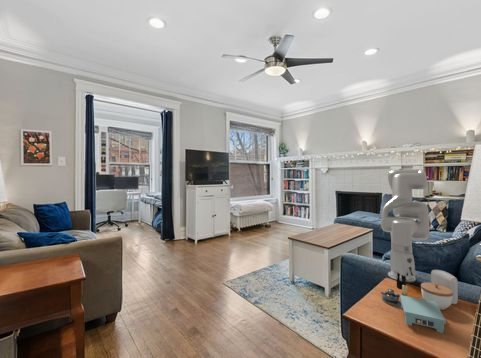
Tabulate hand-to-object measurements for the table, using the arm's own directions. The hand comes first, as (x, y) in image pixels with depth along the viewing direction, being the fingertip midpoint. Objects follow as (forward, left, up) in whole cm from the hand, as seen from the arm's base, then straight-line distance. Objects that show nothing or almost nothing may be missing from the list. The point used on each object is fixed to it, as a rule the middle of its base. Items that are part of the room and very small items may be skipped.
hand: (401, 288), depth 107 cm
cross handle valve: (+3, -3, -4) cm, 6 cm away
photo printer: (-10, +17, -5) cm, 21 cm away
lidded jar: (-1, +13, -5) cm, 14 cm away
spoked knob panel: (+11, +1, -5) cm, 12 cm away
